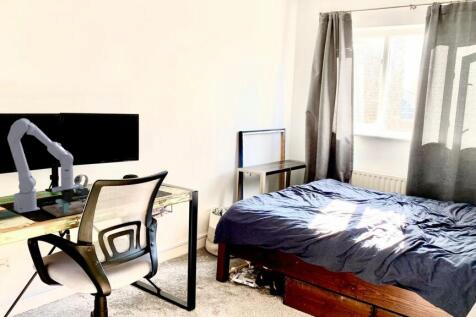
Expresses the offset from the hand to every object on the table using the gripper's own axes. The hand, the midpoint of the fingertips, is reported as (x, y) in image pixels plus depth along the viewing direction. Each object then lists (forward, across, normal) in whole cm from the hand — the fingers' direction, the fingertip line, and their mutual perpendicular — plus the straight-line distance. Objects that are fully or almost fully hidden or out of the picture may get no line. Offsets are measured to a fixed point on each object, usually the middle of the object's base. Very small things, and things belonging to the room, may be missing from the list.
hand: (67, 204), depth 208 cm
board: (+2, 0, +3) cm, 4 cm away
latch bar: (+1, 0, +5) cm, 5 cm away
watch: (+2, -19, -22) cm, 29 cm away
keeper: (+1, +6, +6) cm, 9 cm away
